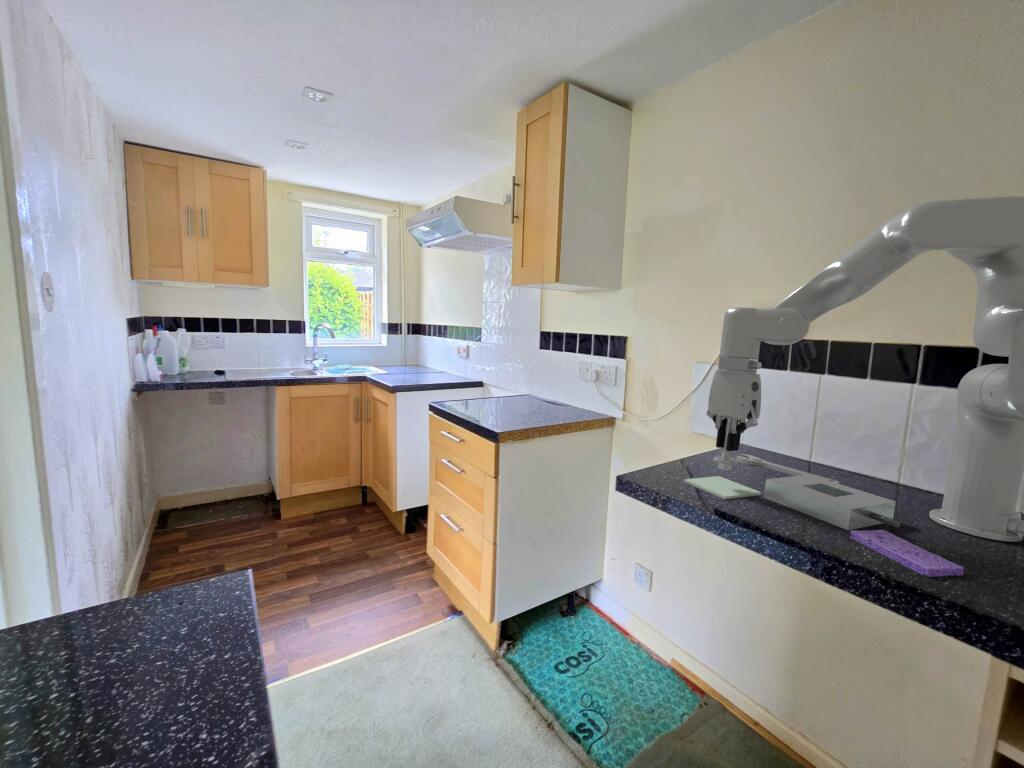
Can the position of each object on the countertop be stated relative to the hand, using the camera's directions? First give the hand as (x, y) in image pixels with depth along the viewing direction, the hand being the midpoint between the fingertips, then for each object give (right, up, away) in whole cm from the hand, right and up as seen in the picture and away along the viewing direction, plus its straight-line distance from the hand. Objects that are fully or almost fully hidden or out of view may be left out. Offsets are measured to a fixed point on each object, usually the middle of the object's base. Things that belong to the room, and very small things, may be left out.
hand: (727, 448), depth 98 cm
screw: (0, -5, +1) cm, 5 cm away
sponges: (+15, -14, -26) cm, 34 cm away
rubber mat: (-1, -9, +1) cm, 9 cm away
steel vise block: (+17, -12, -9) cm, 23 cm away
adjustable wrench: (+23, -9, +19) cm, 31 cm away
